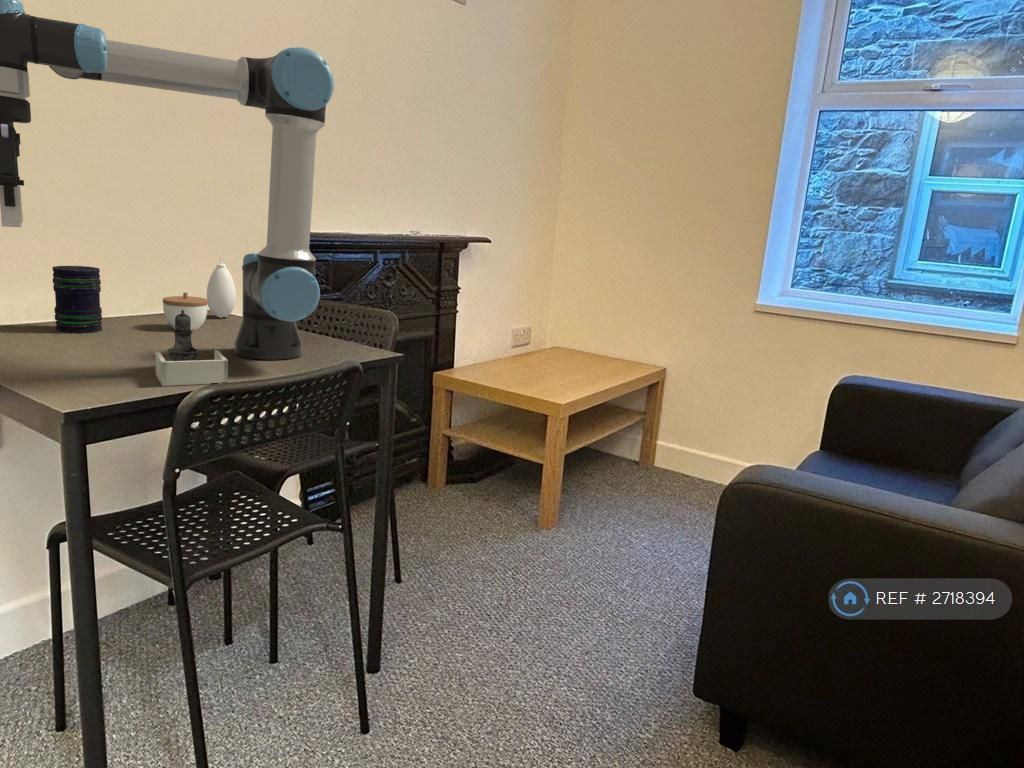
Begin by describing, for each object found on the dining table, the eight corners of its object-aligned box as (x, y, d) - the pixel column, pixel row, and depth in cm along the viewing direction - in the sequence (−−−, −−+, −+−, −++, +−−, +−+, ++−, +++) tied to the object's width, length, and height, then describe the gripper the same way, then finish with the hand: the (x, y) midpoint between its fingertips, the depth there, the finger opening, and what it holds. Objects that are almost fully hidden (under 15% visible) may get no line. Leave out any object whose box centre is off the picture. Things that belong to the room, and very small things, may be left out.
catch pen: (218, 371, 148) (218, 350, 147) (227, 383, 140) (228, 360, 139) (155, 374, 142) (155, 351, 141) (162, 386, 134) (161, 362, 133)
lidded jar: (164, 324, 191) (163, 289, 189) (207, 325, 196) (207, 290, 193) (162, 331, 182) (161, 294, 180) (208, 332, 186) (208, 296, 184)
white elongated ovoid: (204, 319, 204) (204, 254, 200) (208, 314, 212) (208, 252, 207) (234, 320, 206) (234, 257, 202) (237, 316, 214) (237, 254, 210)
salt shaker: (167, 364, 150) (165, 307, 148) (197, 363, 153) (197, 307, 150) (168, 370, 145) (167, 311, 143) (200, 370, 148) (199, 312, 145)
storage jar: (52, 333, 169) (48, 269, 165) (58, 325, 177) (55, 264, 174) (100, 334, 173) (98, 271, 169) (104, 326, 181) (102, 267, 178)
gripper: (-20, 98, 130) (-10, 218, 135) (-31, 85, 110) (-18, 227, 115) (30, 104, 134) (38, 221, 139) (29, 93, 114) (38, 230, 119)
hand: (12, 224), depth 127 cm, fingers open, 13 cm apart
